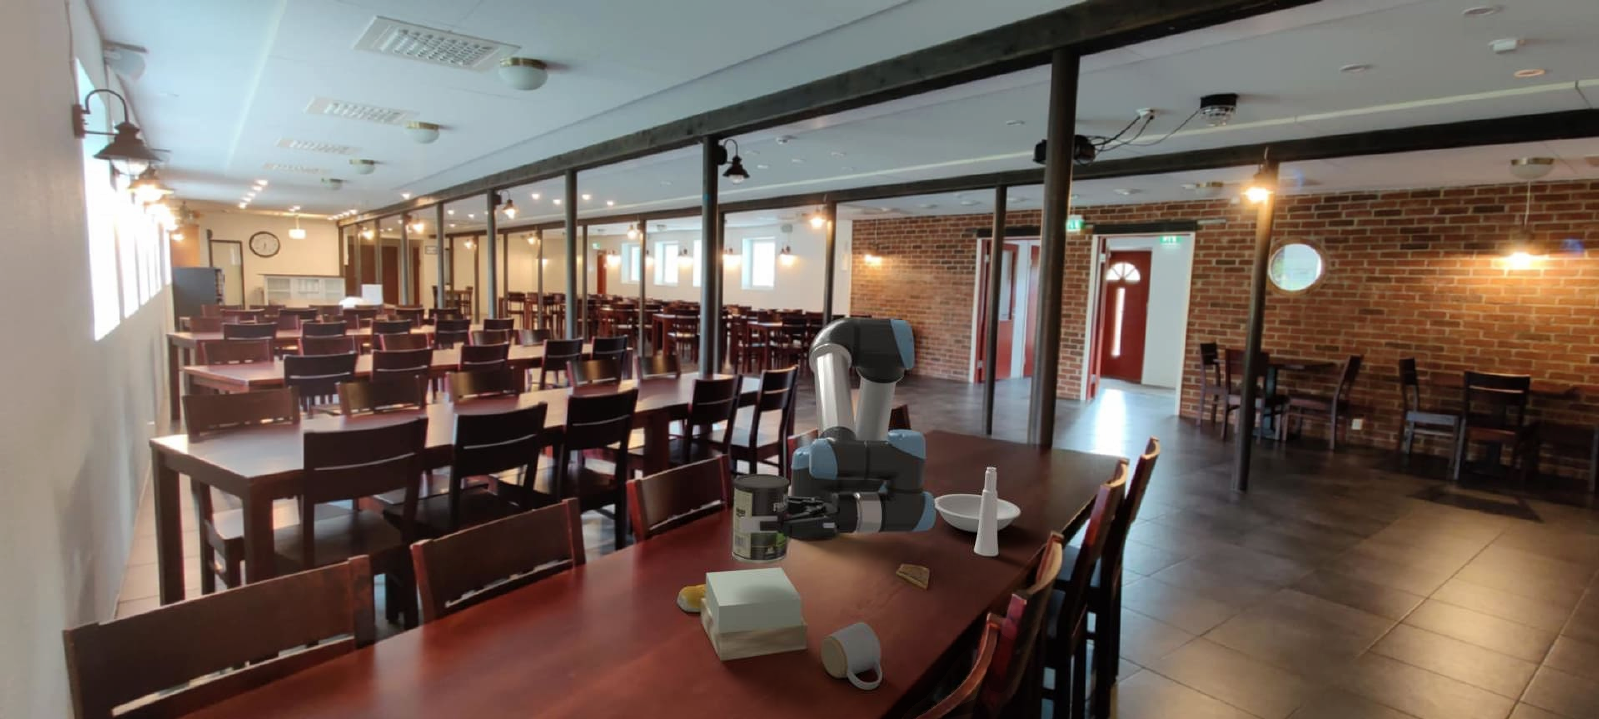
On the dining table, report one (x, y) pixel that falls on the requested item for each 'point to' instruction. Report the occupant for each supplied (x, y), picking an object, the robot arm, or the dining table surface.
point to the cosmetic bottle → (988, 517)
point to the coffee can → (759, 500)
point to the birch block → (752, 638)
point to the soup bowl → (972, 511)
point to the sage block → (752, 600)
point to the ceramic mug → (852, 654)
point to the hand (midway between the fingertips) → (737, 515)
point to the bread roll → (692, 598)
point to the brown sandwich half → (914, 574)
